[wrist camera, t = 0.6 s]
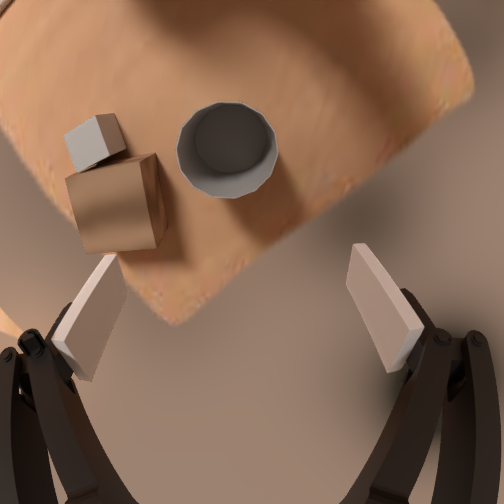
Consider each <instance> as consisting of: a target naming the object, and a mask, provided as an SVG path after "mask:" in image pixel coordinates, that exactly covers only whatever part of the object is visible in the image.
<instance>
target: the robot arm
mask: <svg viewBox="0 0 504 504" xmlns="http://www.w3.org/2000/svg"><path fill="white" fill-rule="evenodd" d="M346 286H347V288H348V290H349V292H350V294H351V296H352V298H353V300H354V302H355V304H356V306H357V308H358V310H359V312H360V315H361V316H362V319H363V321H364V323H365V325H366V327H367V329H368V331H369V333H370V336H371V338H372V340H373V342H374V344H375V346H376V349H377V351H378V353H379V356H380V358H381V360H382V362H383V365H384V367H385V369H386V372H387V373H389V372H393V371H397V370H401V369H402V367H403V366H404V364H405V362H407V364H408V366H409V369H408V370H407V372H406V373H405V375H404V377H403V378H402V380H401V382H403V384H402V386H401V389H400V391H399V394H398V397H397V399H396V402H395V404H394V406H393V409H392V411H391V414H390V416H389V418H388V421H387V423H386V425H385V427H384V429H383V431H382V433H381V436H380V438H379V440H378V442H377V444H376V446H375V447H374V450H373V451H372V453H371V455H370V457H369V459H368V461H367V462H366V464H365V466H364V468H363V469H362V471H361V473H360V474H359V476H358V478H357V479H356V481H355V483H354V484H353V486H352V487H351V489H350V490H349V492H348V494H347V495H346V496H345V498H344V499H343V500H342V501H341V502H340V503H339V504H409V502H408V498H409V496H410V494H411V491H412V489H413V487H414V485H415V483H416V481H417V478H418V476H419V474H420V471H421V469H422V467H423V464H424V462H425V459H426V456H427V454H428V451H429V448H430V445H431V442H432V439H433V436H434V433H435V430H436V426H437V423H438V420H439V416H440V412H441V409H442V429H441V430H442V431H441V443H440V453H439V462H438V469H437V475H436V481H435V487H434V492H433V497H432V501H431V504H497V498H498V491H499V481H500V470H501V423H500V410H499V401H498V393H497V385H496V379H495V374H494V368H493V363H492V358H491V353H490V349H489V346H488V341H487V339H486V337H485V336H484V335H483V334H482V333H481V332H479V331H476V330H471V331H469V332H468V333H467V335H466V337H465V338H452V336H451V335H450V334H449V333H448V332H447V331H445V330H444V329H440V328H436V327H435V326H434V324H433V323H432V321H431V319H430V318H429V317H428V315H427V314H426V312H425V311H424V309H422V306H421V305H420V304H419V303H418V301H417V300H416V298H415V297H414V295H413V294H412V293H410V292H409V291H408V290H407V289H405V288H404V289H399V288H398V287H397V285H396V284H395V283H394V281H393V280H392V278H391V277H390V276H389V274H388V273H387V271H386V270H385V269H384V267H383V266H382V265H381V263H380V262H379V261H378V259H377V258H376V257H375V255H374V254H373V253H372V252H371V250H370V249H369V248H368V246H367V245H366V244H365V243H362V244H361V243H360V244H353V246H352V252H351V258H350V264H349V269H348V274H347V279H346ZM128 294H129V292H128V289H127V286H126V283H125V280H124V277H123V274H122V271H121V267H120V264H119V261H118V258H117V254H116V255H105V256H104V258H103V259H102V260H101V262H100V263H99V265H98V266H97V268H96V269H95V270H94V272H93V273H92V274H91V276H90V277H89V279H88V280H87V282H86V283H85V285H84V286H83V288H82V289H81V291H80V292H79V294H78V295H77V297H76V298H75V300H74V301H73V302H70V303H69V304H68V305H67V306H66V307H65V308H64V309H63V310H62V312H61V313H60V315H59V317H58V318H57V320H56V321H55V322H56V323H54V325H53V326H52V328H51V330H50V331H49V333H48V335H47V336H46V338H45V340H44V339H43V338H42V336H41V334H40V333H39V331H38V330H36V329H29V330H27V331H25V332H24V333H23V334H22V335H21V336H20V337H19V339H18V346H19V347H20V349H21V350H22V351H23V354H19V353H18V352H17V351H16V349H15V348H13V347H8V348H6V349H4V350H3V351H2V352H1V354H0V504H58V500H57V496H56V493H55V488H54V484H53V479H52V474H51V469H50V463H49V456H48V451H49V454H50V456H51V459H52V462H53V464H54V467H55V469H56V472H57V474H58V476H59V479H60V481H61V483H62V485H63V487H64V490H65V492H66V494H67V497H68V500H67V501H66V502H65V504H139V503H138V502H136V500H135V499H134V498H133V497H132V495H131V494H130V492H129V491H128V490H127V488H126V486H125V485H124V483H123V482H122V481H121V479H120V477H119V475H118V474H117V472H116V471H115V469H114V467H113V466H112V464H111V462H110V460H109V458H108V457H107V455H106V453H105V451H104V449H103V447H102V445H101V444H100V441H99V439H98V437H97V435H96V434H95V431H94V429H93V427H92V425H91V423H90V420H89V418H88V416H87V414H86V411H85V409H84V407H83V404H82V401H81V399H80V396H79V394H78V391H77V389H76V386H75V383H74V381H73V379H72V378H71V376H72V374H73V372H74V373H75V375H76V376H77V377H78V378H79V379H80V380H85V381H90V382H92V379H93V377H94V374H95V371H96V369H97V366H98V364H99V361H100V358H101V356H102V353H103V351H104V348H105V346H106V344H107V341H108V339H109V336H110V334H111V332H112V329H113V327H114V325H115V323H116V320H117V318H118V316H119V313H120V311H121V309H122V307H123V305H124V303H125V301H126V299H127V296H128ZM19 388H20V389H21V394H19ZM47 448H48V449H47Z"/></svg>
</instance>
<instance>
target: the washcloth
mask: <svg viewBox="0 0 504 504" xmlns="http://www.w3.org/2000/svg"><path fill="white" fill-rule="evenodd" d="M11 1H12V0H0V14H1V13H2V11H3V10H4V9H5V8H6V6H7V5H8V4H9V3H10V2H11Z"/></svg>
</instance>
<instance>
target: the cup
mask: <svg viewBox="0 0 504 504" xmlns="http://www.w3.org/2000/svg"><path fill="white" fill-rule="evenodd" d="M175 151H176V156H177V160H178V165H179V169H180V172H181V173H182V174H183V175H184V177H185V178H186V179H187V180H188V182H189V183H190V184H191V186H192V187H193V188H195V189H197V190H199V191H201V192H203V193H205V194H207V195H209V196H211V197H213V198H231V199H235V198H238V197H241V196H243V195H246V194H248V193H251V192H254V191H256V190H257V189H258V188H259V187H260V186H261V185H262V184H263V183H264V182H265V181H266V180H267V179H268V178H269V177H270V176H271V174H272V171H273V169H274V166H275V163H276V160H277V157H278V155H279V154H278V146H277V138H276V132H275V131H274V129H273V128H272V126H271V125H270V123H269V122H268V120H267V119H266V117H265V116H264V114H263V113H261V112H259V111H258V110H256V109H254V108H252V107H250V106H249V105H247V104H245V103H243V102H232V101H217V102H214V103H212V104H209V105H207V106H205V107H202V108H200V109H198V110H196V111H195V112H194V113H193V114H192V115H191V117H190V118H189V119H188V120H187V121H186V122H185V123H184V125H183V126H182V127H181V129H180V133H179V136H178V140H177V144H176V148H175Z"/></svg>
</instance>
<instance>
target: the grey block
mask: <svg viewBox="0 0 504 504" xmlns="http://www.w3.org/2000/svg"><path fill="white" fill-rule="evenodd" d="M64 139H65V142H66V145H67V148H68V150H69V153H70V156H71V159H72V161H73V164H74V166H75V169H76V171H77V173H78V172H80V171H82V170H84V169H86V168H88V167H90V166H92V165H94V164H97V163H98V162H100V161H102V160H104V159H106V158H108V157H110V156H112V155H114V154H116V153H118V152H120V151H122V150H124V149H126V145H125V142H124V140H123V137H122V134H121V131H120V129H119V126H118V123H117V120H116V117H115V114H114V113H112V114H103V115H95V116H93V117H92V118H90V119H88V120H87V121H85V122H84V123H82V124H80V125H79V126H77V127H76V128H74V129H73V130H71V131H70V132H68V133H67V134H65V135H64Z"/></svg>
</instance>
